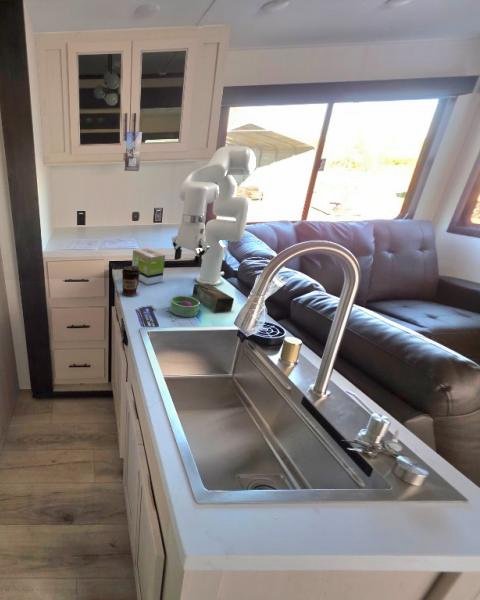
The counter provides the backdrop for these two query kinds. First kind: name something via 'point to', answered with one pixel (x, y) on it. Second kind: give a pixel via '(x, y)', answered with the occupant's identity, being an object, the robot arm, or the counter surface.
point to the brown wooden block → (212, 297)
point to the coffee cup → (130, 280)
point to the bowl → (184, 310)
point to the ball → (186, 303)
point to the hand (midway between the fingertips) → (186, 262)
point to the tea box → (149, 265)
